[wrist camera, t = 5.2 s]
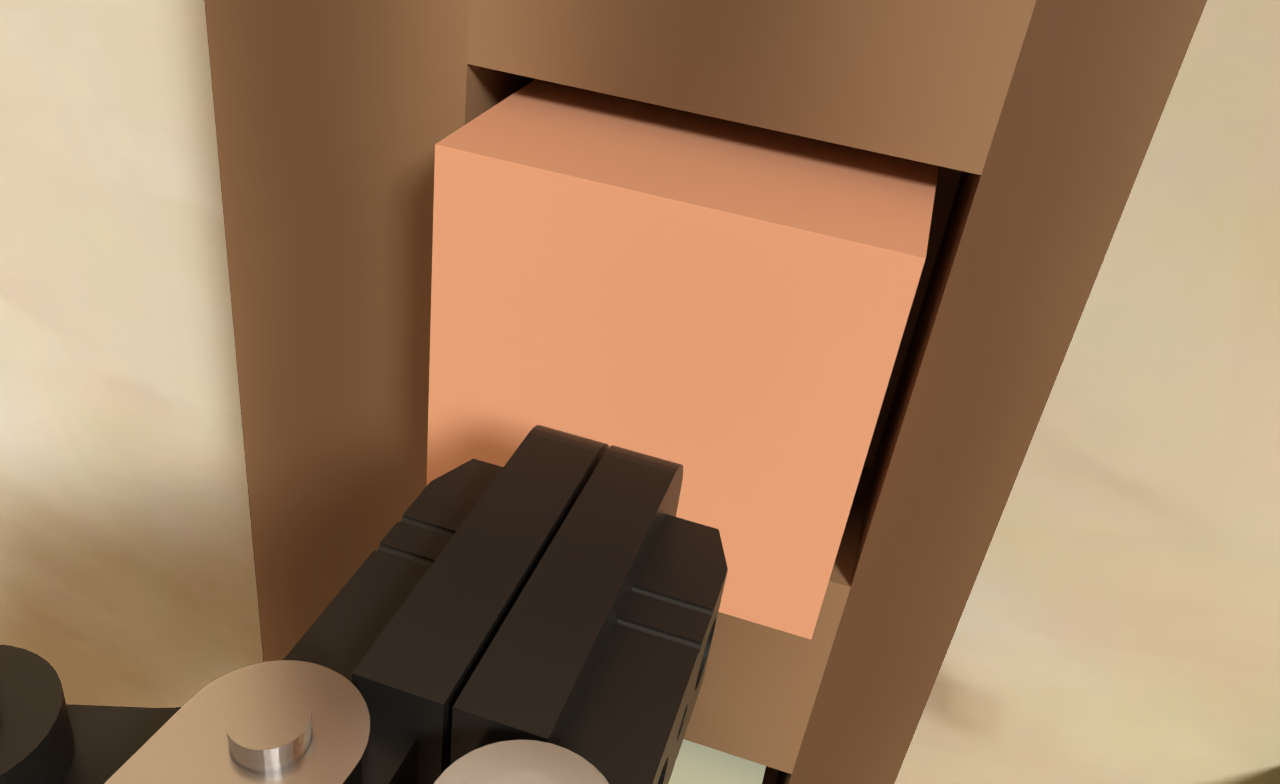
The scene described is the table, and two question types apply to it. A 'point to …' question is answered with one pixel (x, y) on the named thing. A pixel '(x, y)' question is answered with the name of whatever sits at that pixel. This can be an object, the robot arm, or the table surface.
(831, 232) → the terracotta button
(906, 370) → the button panel
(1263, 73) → the table surface
